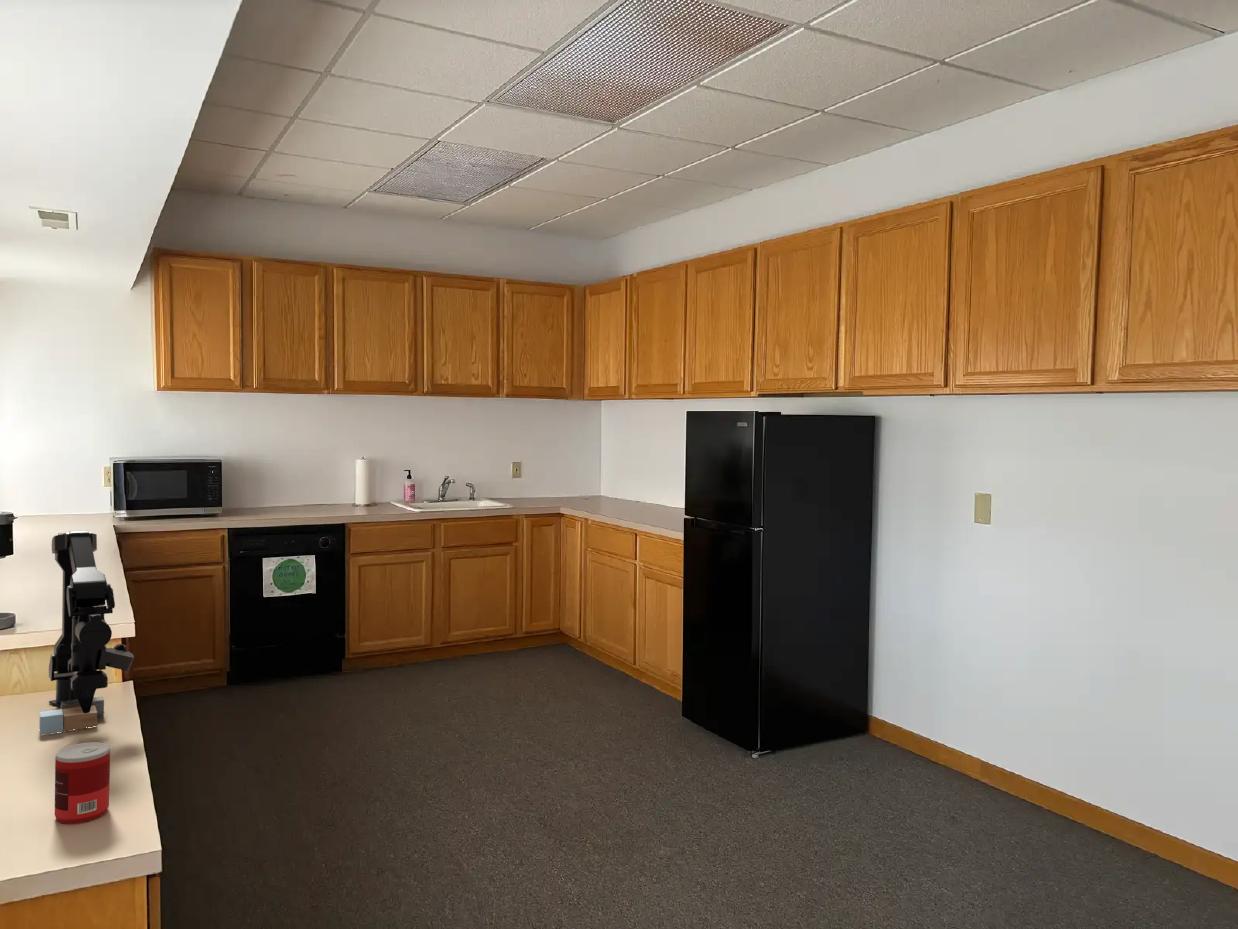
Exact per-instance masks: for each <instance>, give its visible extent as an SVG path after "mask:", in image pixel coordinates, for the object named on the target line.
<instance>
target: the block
mask: <svg viewBox="0 0 1238 929" xmlns="http://www.w3.org/2000/svg"><path fill="white" fill-rule="evenodd" d="M38 726H39V729H40V731H39V736H40V735H42V734H49V735H52V734H51V733H57V732H63V733H64V729H63V712H62V709H61V708H60V709H52V710H44V711H39V725H38ZM57 734H58V733H57ZM42 736H43V735H42Z"/></svg>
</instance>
